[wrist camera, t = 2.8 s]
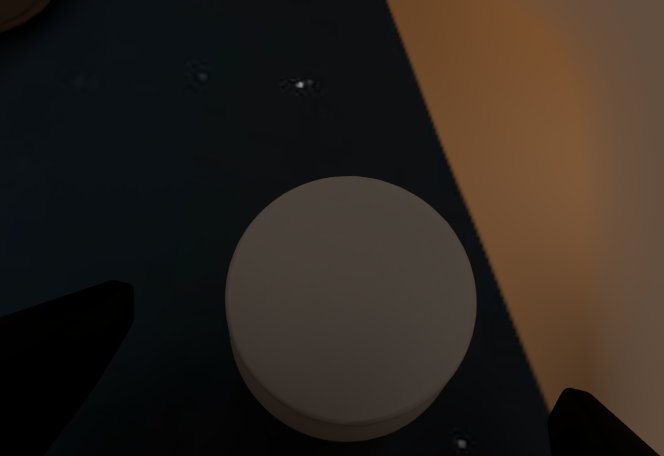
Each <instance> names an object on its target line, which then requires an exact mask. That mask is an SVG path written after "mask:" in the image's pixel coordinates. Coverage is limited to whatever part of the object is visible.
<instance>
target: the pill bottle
mask: <svg viewBox="0 0 664 456" xmlns="http://www.w3.org/2000/svg"><path fill="white" fill-rule="evenodd" d="M476 304H477V302H476V289H475V282H474V277H473V273H472V269H471V265H470V262H469V260H468V257H467V255H466V252H465V250H464V248H463V246H462V244H461V243H460V241H459V239H458V237H457V236H456V234H455V232H454V231H453V230H452V228H451V227H450V226H449V224H448V223H447V222H446V221H445V220H444V219H443V218H442V217H441V216H440V215H439V214H438V212H437V211H435V210H434V209H433V208H432V207H431V206H430V205H428V204H427V203H426V202H424V201H423V200H422V199H420V198H419V197H417V196H415V195H414V194H412V193H410V192H408V191H407V190H405V189H403V188H401V187H398V186H395V185H393V184H390V183H387V182H384V181H381V180H377V179H372V178H365V177H356V176H345V177H332V178H325V179H319V180H316V181H312V182H309V183H306V184H304V185H301V186H299V187H297V188H295V189H293V190H291V191H289V192H287V193H285V194H283V195H282V196H280V197H279V198H277V199H276V200H275V201H273V202H272V203H271V204H269V205H268V206H267V207H266V208H265V209H264V210H263V211H262V212H261V213H260V214H259V215H258V216H257V217H256V218H255V219H254V220H253V221H252V223H251V224H250V225H249V227H248V228H247V230H246V231H245V233H244V234H243V236H242V238H241V239H240V241H239V243H238V245H237V247H236V250H235V252H234V254H233V257H232V260H231V263H230V266H229V270H228V275H227V281H226V290H225V306H226V318H227V323H228V329H229V332H230V341H231V346H232V351H233V355H234V358H235V361H236V364H237V367H238V369H239V372H240V374H241V376H242V378H243V380H244V381H245V383H246V385H247V387H248V388H249V390H250V391H251V392H252V394H253V395H254V396H255V398H256V399H257V400H258V401H259V402H260V403H261V405H262V406H263V407H264V408H265V409H266V410H267V411H269V412H270V413H271V414H272V415H273V416H274V417H276V418H277V419H278V420H280V421H281V422H283V423H284V424H286V425H288V426H289V427H291V428H293V429H295V430H297V431H299V432H301V433H304V434H306V435H309V436H312V437H316V438H320V439H324V440H330V441H339V442H350V441H363V440H369V439H373V438H377V437H381V436H384V435H387V434H389V433H392V432H394V431H396V430H398V429H400V428H402V427H403V426H405V425H407V424H408V423H410V422H411V421H413V420H414V419H416V418H417V417H418V416H419V415H420V414H421V413H422V412H424V411H425V410H426V409H427V408H428V407H429V406H430V405H431V403H432V402H433V401H434V400H435V399H436V398H437V396H438V395H439V393H440V392H441V390H442V389H443V387H444V386H445V385H446V383H447V382H448V381H449V380H450V378H451V377H452V376H453V375H454V373H455V372H456V370H457V369H458V367H459V365H460V364H461V362H462V360H463V358H464V356H465V353H466V351H467V349H468V347H469V344H470V341H471V337H472V334H473V329H474V325H475V318H476Z"/></svg>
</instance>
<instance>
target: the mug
mask: <svg viewBox="0 0 664 456" xmlns="http://www.w3.org/2000/svg"><path fill="white" fill-rule="evenodd" d="M50 1H51V0H0V33H2V32H5V31H8V30H10V29H13V28H16V27H18V26H21V25H23V24H24V23H26V22H27V21H29V20H30V19H32V18H33V17H34V16H36V15H37V14H39V13H40V12H42V11H43V9H44V8H45V7H46V6H47V5H48V3H49V2H50Z"/></svg>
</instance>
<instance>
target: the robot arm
mask: <svg viewBox="0 0 664 456" xmlns="http://www.w3.org/2000/svg"><path fill="white" fill-rule="evenodd" d="M133 320H134V290H133V287H132V285H130V284H129V283H124V282H120V281H116V280H111V281H108V282H105V283H102V284H99V285H96V286H93V287H90V288H87V289H84V290H81V291H78V292H75V293H72V294H69V295H66V296H63V297H60V298H57V299H54V300H51V301H48V302H45V303H42V304H39V305H36V306H33V307H30V308H27V309H24V310H21V311H18V312H15V313H12V314H9V315H6V316H3V317H0V456H43V455H44V454H45V453H46V451H47V450H48V449H49V447H50V446H51V445H52V443H53V442H54V441H55V440H56V438H57V437H58V436H59V434H60V433H61V432H62V430H63V429H64V428H65V426H66V425H67V424H68V422H69V421H70V420H71V418H72V417H73V416H74V414H75V413H76V412H77V410H78V409H79V408H80V406H81V405H82V404H83V402H84V401H85V400H86V398H87V397H88V396H89V394H90V393H91V391H92V390H93V389H94V387H95V386H96V384H97V382H98V381H99V379H100V378H101V376H102V374H103V373H104V371H105V369H106V368H107V366H108V364H109V363H110V361H111V359H112V358H113V356H114V354H115V353H116V351H117V349H118V348H119V346H120V344H121V343H122V341H123V339H124V338H125V336H126V334H127V333H128V331H129V329H130V328H131V326H132V323H133ZM548 434H549V441H550V447H551V454H552V456H660V455H659V454H657V453H656V452H655V451H654V450H653V449H652V448H651V447H649V446H648V445H647V444H646V443H645V442H644V441H643V440H642V439H641V438H640V437H638V436H637V435H636V434H635V433H634V432H633V431H632V430H631V429H630V428H628V427H627V426H626V425H625V424H624V423H623V422H622V421H621V420H619V419H618V418H617V417H616V416H615V415H614V414H613V413H612V412H610V411H609V410H608V409H607V408H606V407H605V406H604V405H603V404H602V403H600V402H599V401H598V400H597V399H596V398H595V397H594V396H593V395H591V394H590V393H588V392H586V391H582V390H578V389H574V388H566V389H565V390H563V392H562V393H561V395H560V397H559V399H558V401H557V402H556V404H555V406H554V408H553V410H552V412H551V413H550V416H549V419H548Z"/></svg>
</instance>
